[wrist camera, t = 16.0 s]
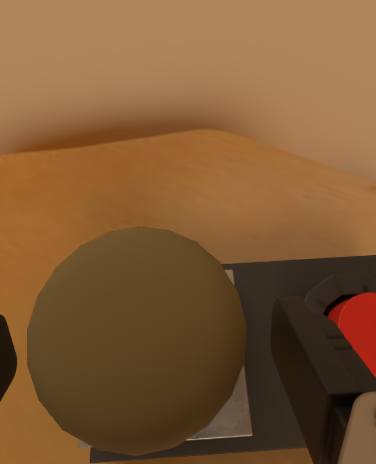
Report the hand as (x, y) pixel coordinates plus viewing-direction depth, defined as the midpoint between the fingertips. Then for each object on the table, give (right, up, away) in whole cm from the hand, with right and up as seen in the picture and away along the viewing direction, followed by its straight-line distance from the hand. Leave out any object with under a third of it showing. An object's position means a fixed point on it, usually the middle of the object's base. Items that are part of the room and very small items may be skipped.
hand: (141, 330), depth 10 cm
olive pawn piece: (0, -3, +7) cm, 8 cm away
